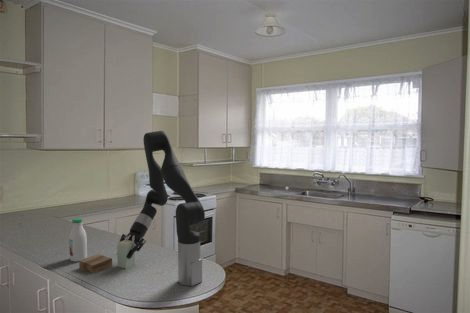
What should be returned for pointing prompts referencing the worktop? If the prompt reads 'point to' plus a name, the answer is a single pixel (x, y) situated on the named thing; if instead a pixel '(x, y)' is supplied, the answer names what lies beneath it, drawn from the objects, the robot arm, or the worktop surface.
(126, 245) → the tea tin
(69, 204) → the worktop surface
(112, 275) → the worktop surface
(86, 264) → the walnut box
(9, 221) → the worktop surface
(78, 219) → the milk bottle
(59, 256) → the worktop surface
